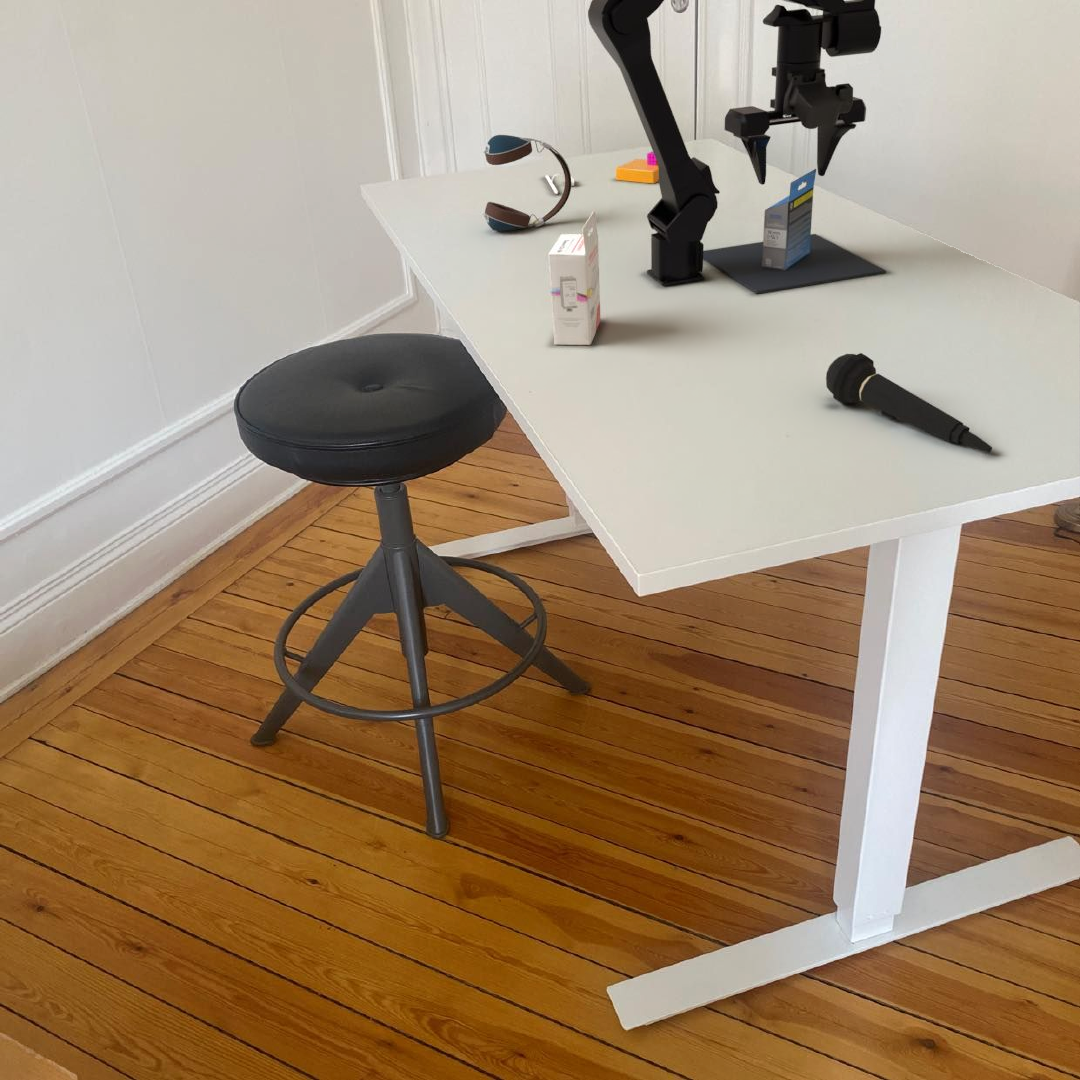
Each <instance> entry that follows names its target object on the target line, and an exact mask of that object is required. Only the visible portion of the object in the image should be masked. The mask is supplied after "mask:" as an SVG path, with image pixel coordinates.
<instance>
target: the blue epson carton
mask: <svg viewBox="0 0 1080 1080" xmlns="http://www.w3.org/2000/svg"><path fill="white" fill-rule="evenodd" d="M816 175H817V168H814V169H813V170H811V171H809V172H808V173H805V174H804V175H802V176H800V177H798V178H797V179H795V180H793V181H791V182H790V186H789V195H787V196H786V197H784V198H782V199H781V200H779V201H778V202H776V203H774V204H773V205H771V206H769V207H767V208H766V209H765V210H764V215H763V216H764V219H763V236H762V237H763V239H762V242H763V257H762V267H764V268H769V269H777V270H786V269H787V268H789V267H790V266H791V265H793V264H794V263H796V262H797V261H799V260H800V259H801V258H803V257H804V256H806V255H807V254H809V253H810V237H811V234H812V219H813V206H814V205H813V202H814V189H815V180H816ZM802 184H805V185H804V186H803V187H801V188H800V189H799V187H800V186H802Z"/></svg>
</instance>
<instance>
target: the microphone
mask: <svg viewBox="0 0 1080 1080" xmlns="http://www.w3.org/2000/svg"><path fill="white" fill-rule="evenodd" d="M874 364H875V363H874V360H873V359H871V358H870V357H868V355H866V354H864V353H862V352H860V353H857V354H856V353H845V354H842V355H840V356H838V357H837V358H835V359H834V360H833V361H832V362H831V363H830V365H828V368H827V371H826V376H825V383H826V385H825V386H826V389H828V391H829V392H830V393H831V394H832V398H833V399H834V400H835V401H837V402H838V403H840V404H842V405H845V406H848V405H850V404H855V403H858V402H861V403H863V404H864V405H866V406H868V407H871V408H873V409H876V410H877V411H880V414H881V415H882V416H884V417H885V418H888V419H891V420H900V421H902V422H905V423H907V424H909V425H911V426H913V427H915V428H918V429H920V430H922V431H925V432H927V433H928V434H931V435H933V436H936V437H938V438H940V439H942V440H945V441H946V442H949V443H954V444H957V445H962V444H964V445H965V446H968V447H971V448H973V449H976V450H979V451H982V452H985V453H988V454H989V453H991V451H992V450H993V447H992V445H991V444H988V443H987V442H986V441H985V440H983V439H982V438H980V437H979V436H977V435H976V434H974V433H973V432H971V431H970V427H968V426H966V425H965V424H964V423H963V422H962V421H960V420H959V419H957V418H956V417H954V416H952V415H950V414H948V413H946V412H945V411H943V410H942V409H940V408H938V407H937V406H935V405H933V404H931V403H929V402H928V401H926V400H925V399H923V398H921V397H920V396H917V394H914V393H913V392H911V391H909V390H907V389H906V388H904V387H902V386H901V385H899V384H897V383H895V382H894V381H892V380H890V379H888V378H887V377H885V376H883V375H881V373H877V369H876V368H875V365H874Z"/></svg>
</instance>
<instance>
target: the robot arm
mask: <svg viewBox="0 0 1080 1080" xmlns="http://www.w3.org/2000/svg"><path fill="white" fill-rule="evenodd" d="M782 1H783V2H786V3H792V4H797V5H802V6H803V7H805V8H798V9H787V8H786V7H785V6H784V5H781V4H775V5H774V7H773V9H772V10H771V11H770V12H769V14H767V15H766V16H765V17H764V18H763V20H762V24H763V25H765V26H769V27H774V28H777V29H778V30H777V49H776V66H775V67H774V66H772V67H771V76H773V77H775V87H774V88H775V89H774V90H775V91H774V92H775V93H774V99H773V98H772V99H770V101H769V108H770V109H774V110H765V109H762V108H759V107H756V106H753V105H750V106H742V107H734V108H729V110H728V111H727V112H726V114H725V117H724V131H726V132H728V133H731V134H732V135H733V136H734V137H736V138H738V139H740V141H741V142H742V145H743V146H744V148H745V150H746V152H747V155H748V157H749V160H750V162H751V165H752V168H753V171H754V173H755V176H756V180H757V181H758V183H759V184H760V185H765V184H766V180H767V179H766V177H767V146H768V144H769V142H770V140H771V136H770V135H767V134H766V133H767V132H768V130H770V127H772V126H777V125H779V126H780V125H786V124H793V123H795V124H796V123H801V125H802V126H803V128H805V129H808V130H814V129H817V133H816V134H817V135H816V136H817V137H816V140H817V141H816V142H817V143H816V164H817V165H816V169H817V174H818V176H819V177H825V175H826V172H827V170H828V167H829V165H830V163H831V161H832V159H833V156H834V154H835V151H836V149H837V147H838V145H839V143H840V141H841V139H843V137H844V136H845V135H846V134H847V133H848V132H850V131H851V130H854V129H856V127H857V124H856V123H862V122H863V123H864V122H865V121H866V115H867V107H866V103H865V102H864V100H863V99H862V98H859V97H855V96H854V87H853V86H852V85H851V84H850V83H848V82H847V83H839V84H836V85H835V86H834V85H831V86H827V82H826V76H827V75H826V69H825V68H821V61H822V60H821V59H822V58H821V57H822V50H825V52H826V54H827V56H828V57H831V58H833V57H834V58H835V57H842V56H852V55H862V54H871V53H873V52H875V51H876V49H877V48H878V46H879V44H880V40H881V35H882V26H881V23H880V15H879V14H878V11H877V9H876V8H875V7H876V0H782ZM664 2H665V0H591V1H590V5H589V7H588V10H587V18H588V23H589V25H590V27H591V28H592V30H593V33H594V34H595V35H596V38H598V40H599V42H600V43H601V45H602V46H603V48H604V49H605V50H606V52H607V53H608V55H609V56H610V57H611V59H612V60H613V61H614V62H615V64H616V66H617V67H618V68H619V70H620V72H621V75H622V77H623V80H624V82H625V86H626V87H627V90H628V92H629V95H630V98H631V100H632V102H633V105H634V107H635V110H636V112H637V115H638V117H639V120H640V122H641V125H642V127H643V130H644V132H645V134H646V138H647V140H648V142H649V145H650V147H651V150H652V151H653V152H654V155H655V157H656V160H657V162H658V167H659V181H658V185H659V190H660V194H661V198H660V199H659V201H658V202H657V203H655V204H654V206H653V208H652V209H651V210H650V211H649V212H648V213H647V214H646V218H647V221H648V224H649V227H650V228H651V230H654V231H655V232H656V233H651V237H650V240H651V241H650V247H651V250H650V252H651V253H650V254H651V260H650V264H651V266H650V267H651V268H650V269H647V270H646V274H647V275H648V276H649V277H651V278H652V279H653V280H654V281H656V282H657V283H658V284H660V285H661V286H664V287H665V286H672V285H678V284H685V283H691V282H698V281H703V280H705V278H706V277H705V274H703V273H702V272H703V271H704V259H703V251H704V243H703V242H702V240H703V237H704V234H705V232H706V228H707V226H708V224H709V222H710V221H711V220H712V219H713V218H714V216H715V213H716V211H717V210H718V204H719V203H718V198H717V195H719V194H720V193H721V192H720V190H719V189H718V188H717V187H716V185H715V183H714V180H713V174H712V171H711V167H710V165H708V164H707V163H705V162H703V161H701V160H700V159H698V158H696V157H694V156H692V157H691V156H690V154H689V152H688V149H687V147H686V146H687V145H686V144H685V141H684V139H683V136H682V134H681V131H680V128H679V126H678V123H677V121H676V118H675V115H674V113H673V110H672V107H671V104H670V103H669V99H668V97H667V95H666V92H665V89H664V86H663V84H662V81H661V79H660V76H659V74H658V70H657V68H656V66H655V63H654V61H653V56H652V42H651V41H652V39H651V37H652V35H651V29H650V25H649V20H648V18H649V17H651V16H652V15H653V14H654V13H655V12H656V11H657V10H658V9H659V8H660V6H661V5H662V4H663V3H664ZM807 8H808V9H813V10H816V11H817V10H818V11H822V14H818V15H817V14H816V15H812V14H811V12H810V11H809V10H808V9H807Z"/></svg>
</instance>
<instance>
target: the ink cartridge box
mask: <svg viewBox="0 0 1080 1080" xmlns="http://www.w3.org/2000/svg"><path fill="white" fill-rule="evenodd" d="M590 228H591V231H590ZM581 231H582V233H562V234H561V235H559V237H558V238H557V240H556V241H555V244H553V246H552V248H551V249H550V251H549V252H548V253H547V257H548V267H549V284H550V296H551V297H550V299H551V311H552V312H551V313H552V327H553V329H552V330H553V343H554V345H556V346H557V345H560V346H561V345H562V346H563V345H564V346H566V345H567V346H591V345H592V343H593V340H594V339H595V336H596V333H597V330H598V328H599V325H600V323H601V295H600V294H601V292H600V290H601V289H600V287H601V286H600V285H601V284H600V259H599V258H600V255H599V234H598V224H597V217H596V211H595V210H593V211H592V213H591V214H590V216H589V217H588V218H587V220H586V222H585V223H584V225H583V227H582V229H581ZM589 231H590V233H589Z"/></svg>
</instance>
